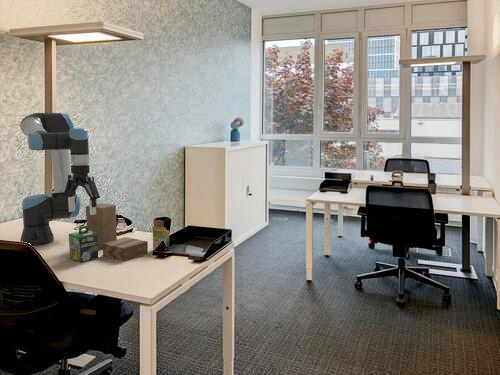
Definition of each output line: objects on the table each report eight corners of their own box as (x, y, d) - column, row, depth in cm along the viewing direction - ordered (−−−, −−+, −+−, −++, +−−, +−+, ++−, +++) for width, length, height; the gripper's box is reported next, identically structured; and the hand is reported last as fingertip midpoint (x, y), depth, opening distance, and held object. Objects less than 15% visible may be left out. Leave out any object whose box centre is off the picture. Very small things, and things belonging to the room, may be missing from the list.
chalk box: (87, 254, 209) (86, 222, 206) (99, 258, 203) (98, 225, 201) (69, 258, 201) (67, 226, 199) (80, 262, 196) (78, 229, 194)
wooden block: (103, 249, 216) (101, 208, 213) (86, 246, 220) (85, 206, 217) (117, 244, 225) (116, 204, 222) (101, 242, 229) (100, 202, 226)
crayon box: (169, 250, 216) (169, 226, 214) (166, 251, 213) (166, 227, 212) (156, 248, 218) (155, 224, 217) (152, 250, 216) (152, 226, 214)
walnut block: (103, 256, 206) (102, 243, 206) (126, 249, 218) (126, 237, 217) (124, 261, 199) (124, 248, 198) (147, 254, 211) (147, 241, 210)
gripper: (53, 163, 199) (56, 211, 202) (92, 166, 186) (95, 217, 189) (68, 162, 206) (70, 208, 208) (107, 165, 193) (109, 214, 196)
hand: (82, 213), depth 199 cm, fingers open, 13 cm apart
